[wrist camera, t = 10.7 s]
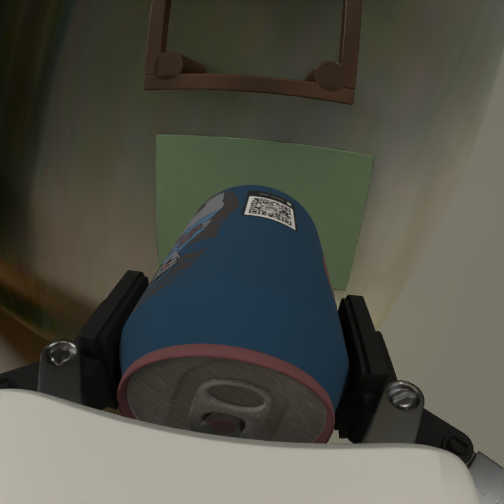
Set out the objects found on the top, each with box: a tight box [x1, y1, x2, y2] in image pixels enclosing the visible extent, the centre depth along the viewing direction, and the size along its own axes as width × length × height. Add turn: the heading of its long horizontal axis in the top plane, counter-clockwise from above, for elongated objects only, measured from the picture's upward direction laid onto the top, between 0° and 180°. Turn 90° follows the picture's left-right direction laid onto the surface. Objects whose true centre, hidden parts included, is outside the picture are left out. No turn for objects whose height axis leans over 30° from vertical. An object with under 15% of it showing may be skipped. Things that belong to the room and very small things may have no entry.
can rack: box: [144, 0, 362, 105], centre depth 14 cm, size 10×10×5 cm
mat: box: [156, 134, 374, 290], centre depth 22 cm, size 14×10×1 cm
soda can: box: [117, 185, 349, 444], centre depth 13 cm, size 7×7×12 cm
